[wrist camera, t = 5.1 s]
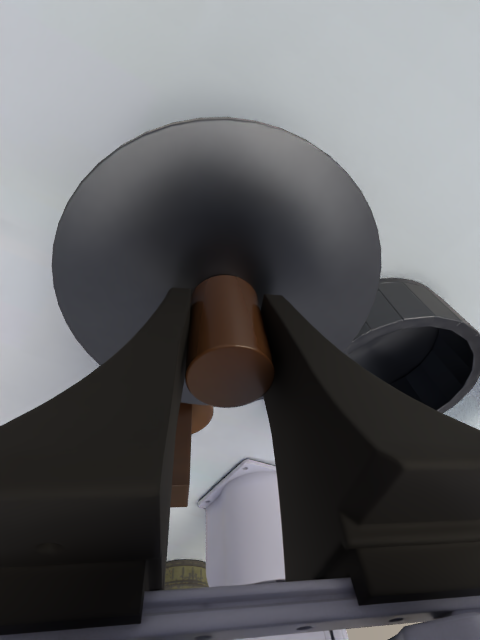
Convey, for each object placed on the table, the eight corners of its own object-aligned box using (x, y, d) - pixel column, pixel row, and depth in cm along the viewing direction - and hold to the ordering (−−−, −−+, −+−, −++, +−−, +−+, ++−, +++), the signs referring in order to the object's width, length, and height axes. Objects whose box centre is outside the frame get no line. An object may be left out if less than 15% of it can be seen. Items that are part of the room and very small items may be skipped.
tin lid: (258, 412, 17) (274, 506, 13) (28, 332, 13) (-45, 438, 9) (431, 239, 12) (536, 314, 8) (140, 6, 8) (78, -64, 4)
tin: (365, 407, 27) (387, 452, 24) (264, 365, 23) (274, 412, 20) (475, 320, 22) (520, 361, 19) (371, 247, 18) (407, 284, 15)
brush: (215, 356, 22) (220, 469, 16) (209, 405, 25) (211, 517, 19) (136, 352, 21) (106, 471, 15) (139, 404, 24) (116, 520, 18)
